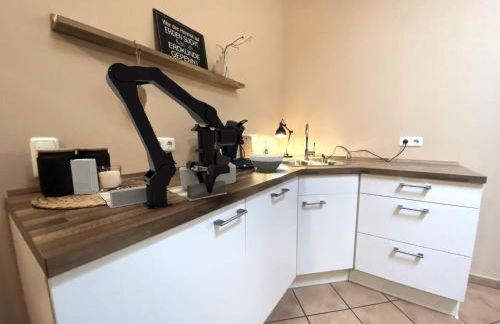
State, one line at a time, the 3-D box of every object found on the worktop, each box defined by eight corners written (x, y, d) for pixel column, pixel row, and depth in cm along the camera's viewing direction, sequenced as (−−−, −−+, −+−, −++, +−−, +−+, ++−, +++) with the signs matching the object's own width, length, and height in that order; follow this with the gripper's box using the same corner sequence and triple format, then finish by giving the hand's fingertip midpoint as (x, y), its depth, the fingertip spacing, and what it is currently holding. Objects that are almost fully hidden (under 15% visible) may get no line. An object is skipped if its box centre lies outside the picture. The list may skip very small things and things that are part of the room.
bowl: (271, 175, 117) (272, 157, 116) (243, 171, 129) (243, 155, 128) (289, 170, 132) (289, 154, 131) (262, 167, 144) (262, 153, 143)
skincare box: (99, 191, 81) (97, 158, 80) (92, 194, 77) (89, 159, 75) (81, 192, 81) (78, 158, 79) (72, 195, 76) (69, 160, 75)
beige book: (226, 193, 79) (226, 181, 78) (190, 201, 69) (189, 187, 69) (198, 184, 94) (198, 174, 93) (165, 189, 84) (165, 178, 84)
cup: (172, 187, 86) (171, 166, 85) (191, 184, 92) (190, 165, 91) (186, 192, 78) (185, 169, 77) (205, 188, 84) (205, 167, 83)
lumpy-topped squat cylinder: (204, 182, 99) (203, 162, 98) (227, 178, 108) (227, 160, 107) (217, 186, 91) (217, 165, 90) (241, 181, 100) (241, 162, 99)
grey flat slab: (161, 199, 71) (160, 185, 71) (110, 208, 62) (109, 192, 62) (142, 188, 86) (141, 177, 86) (99, 194, 77) (98, 181, 76)
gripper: (243, 146, 72) (243, 193, 73) (212, 144, 85) (212, 184, 87) (213, 147, 64) (214, 199, 66) (184, 144, 78) (186, 188, 80)
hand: (207, 192), depth 75 cm, fingers closed on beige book, 3 cm apart
